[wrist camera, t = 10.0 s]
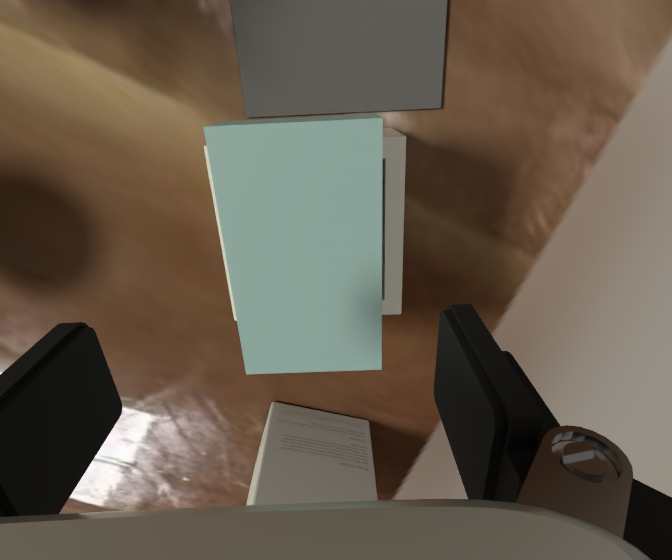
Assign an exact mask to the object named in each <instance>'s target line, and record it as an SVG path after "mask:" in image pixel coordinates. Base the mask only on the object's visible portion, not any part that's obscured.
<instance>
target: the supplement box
mask: <svg viewBox="0 0 672 560" xmlns="http://www.w3.org/2000/svg"><path fill="white" fill-rule="evenodd" d="M375 500H378V499H377V490H376V481H375V472H374V463H373V454H372V446H371V436H370V426H369V421H367V420H363V419H358V418H353V417H348V416H343V415H338V414H333V413H328V412H323V411H318V410H313V409H308V408H303V407H298V406H293V405H288V404H283V403H278V402H272V404H271V407H270V411H269V415H268V418H267V422H266V425H265V429H264V433H263V436H262V440H261V444H260V448H259V452H258V456H257V460H256V464H255V469H254V473H253V477H252V482H251V486H250V491H249V495H248V500H247V505H271V504H296V503H322V502H347V501H375Z"/></svg>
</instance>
